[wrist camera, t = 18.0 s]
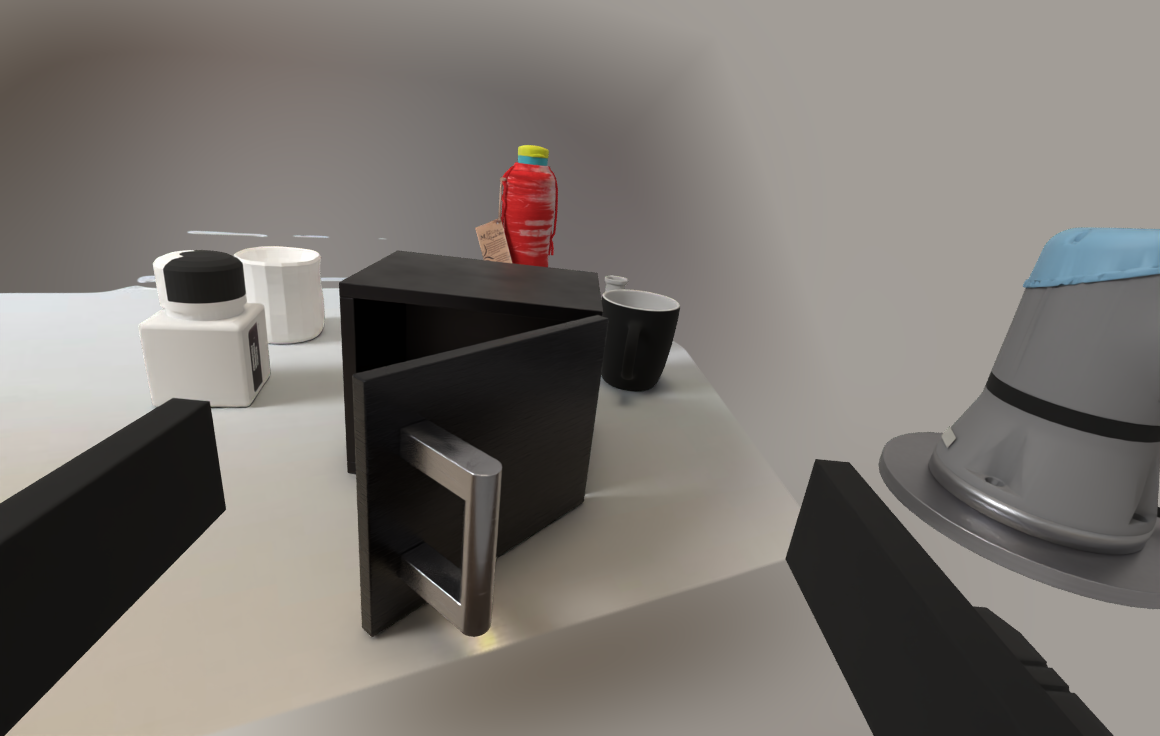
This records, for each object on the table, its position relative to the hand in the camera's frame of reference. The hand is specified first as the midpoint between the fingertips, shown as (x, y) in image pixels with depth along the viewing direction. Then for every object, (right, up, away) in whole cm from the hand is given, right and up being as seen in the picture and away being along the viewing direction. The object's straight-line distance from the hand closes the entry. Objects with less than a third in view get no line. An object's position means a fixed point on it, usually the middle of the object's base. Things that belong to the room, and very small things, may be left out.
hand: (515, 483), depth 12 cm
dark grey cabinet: (-8, -4, +37) cm, 38 cm away
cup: (-35, +7, +57) cm, 68 cm away
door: (-2, -10, +22) cm, 25 cm away
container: (-33, 0, +41) cm, 53 cm away
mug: (+7, 0, +54) cm, 54 cm away
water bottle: (-9, +11, +76) cm, 78 cm away
